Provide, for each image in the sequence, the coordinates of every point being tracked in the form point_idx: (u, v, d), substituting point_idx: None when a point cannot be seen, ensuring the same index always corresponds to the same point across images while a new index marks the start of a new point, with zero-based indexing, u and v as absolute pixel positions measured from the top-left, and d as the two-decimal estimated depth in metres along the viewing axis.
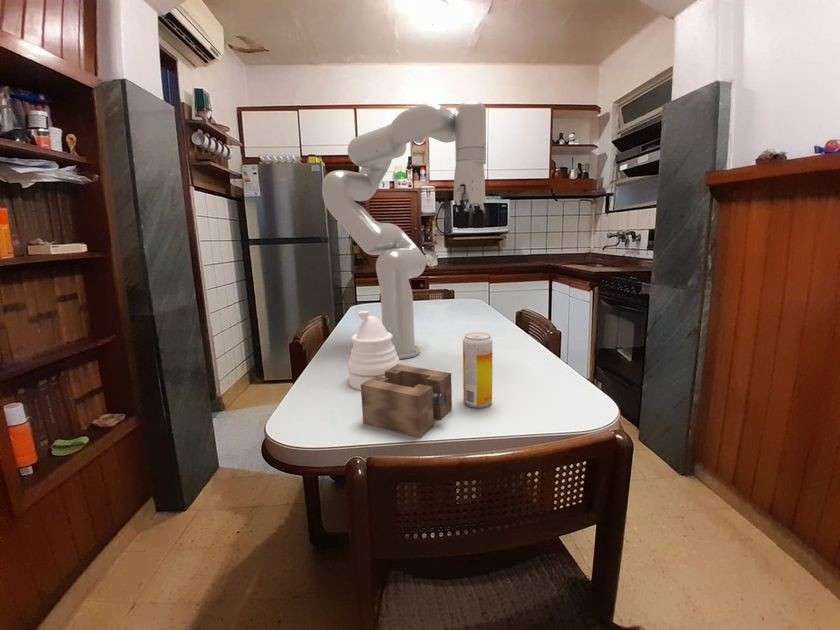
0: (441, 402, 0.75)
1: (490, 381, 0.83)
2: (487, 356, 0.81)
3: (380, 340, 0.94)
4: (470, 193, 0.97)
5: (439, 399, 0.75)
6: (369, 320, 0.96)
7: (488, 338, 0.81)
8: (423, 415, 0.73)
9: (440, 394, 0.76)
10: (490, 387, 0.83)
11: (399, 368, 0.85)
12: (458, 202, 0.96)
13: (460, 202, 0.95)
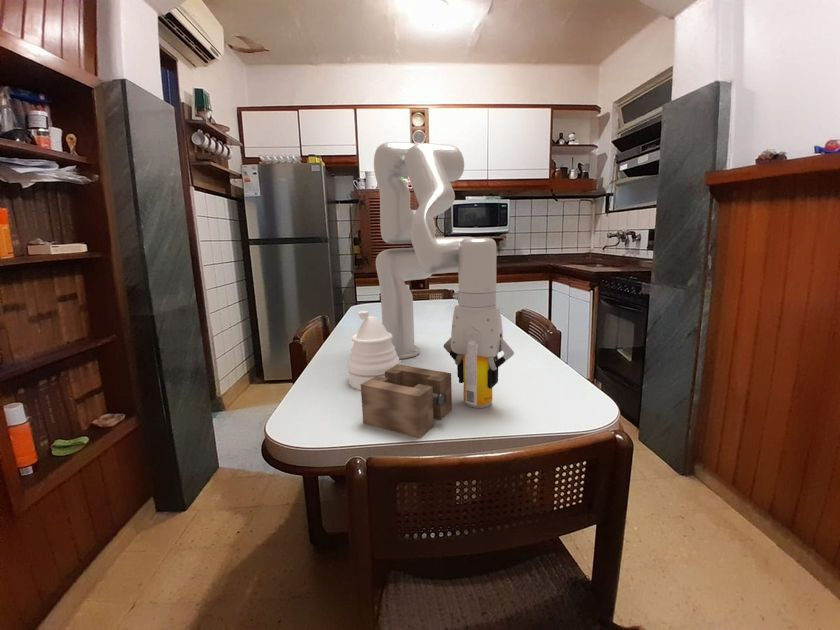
0: (441, 402, 0.75)
1: None
2: None
3: (380, 340, 0.94)
4: None
5: (439, 399, 0.75)
6: (369, 320, 0.96)
7: None
8: (423, 415, 0.73)
9: (440, 394, 0.76)
10: None
11: (399, 368, 0.85)
12: (505, 360, 0.81)
13: None
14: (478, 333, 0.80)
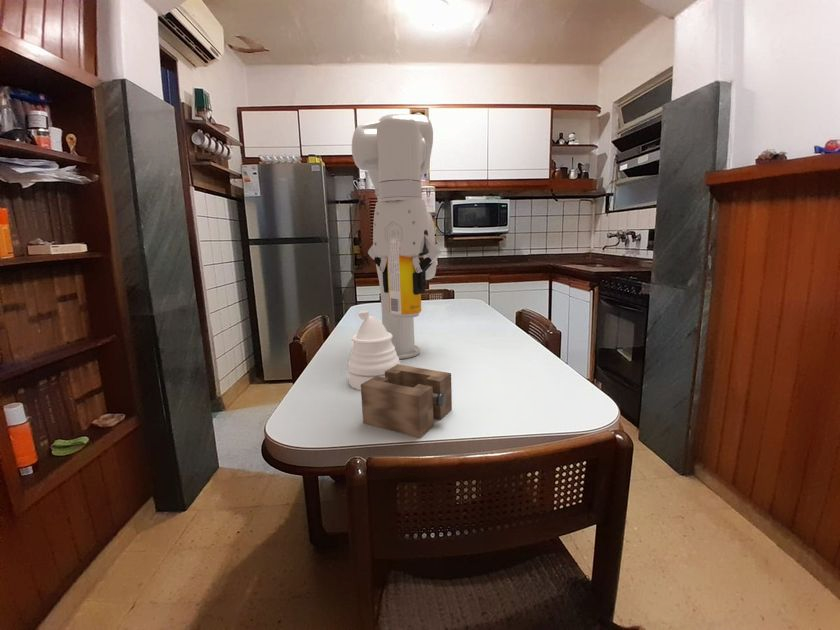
0: (441, 402, 0.75)
1: None
2: None
3: (380, 340, 0.94)
4: None
5: (439, 399, 0.75)
6: (369, 320, 0.96)
7: None
8: (423, 415, 0.73)
9: (440, 394, 0.76)
10: (417, 295, 0.74)
11: (399, 368, 0.85)
12: (432, 261, 0.72)
13: None
14: (400, 228, 0.70)
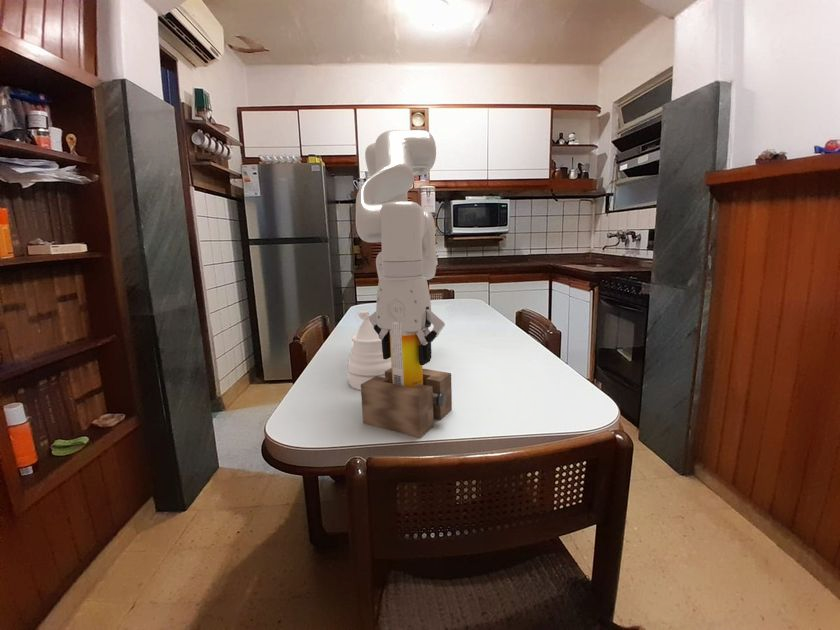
0: (441, 402, 0.75)
1: (419, 364, 0.77)
2: (414, 336, 0.75)
3: (380, 340, 0.94)
4: None
5: (439, 399, 0.75)
6: None
7: None
8: (423, 415, 0.73)
9: (440, 394, 0.75)
10: (419, 371, 0.77)
11: None
12: (437, 334, 0.74)
13: (438, 333, 0.74)
14: (402, 305, 0.73)
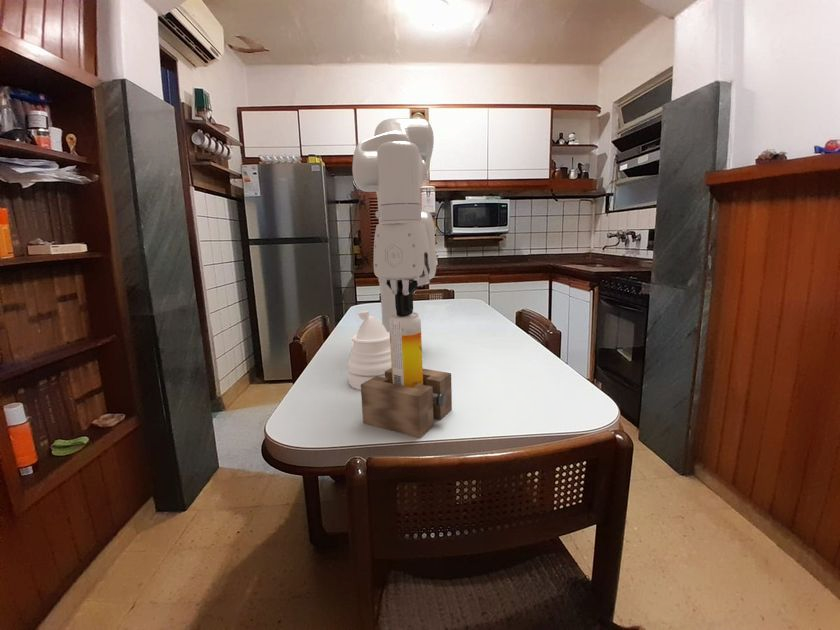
0: (441, 402, 0.75)
1: (419, 364, 0.77)
2: (414, 336, 0.75)
3: (380, 340, 0.94)
4: None
5: (439, 399, 0.75)
6: (369, 320, 0.96)
7: (414, 317, 0.75)
8: (423, 415, 0.73)
9: (440, 394, 0.75)
10: (419, 371, 0.77)
11: None
12: (418, 286, 0.74)
13: None
14: (400, 250, 0.71)
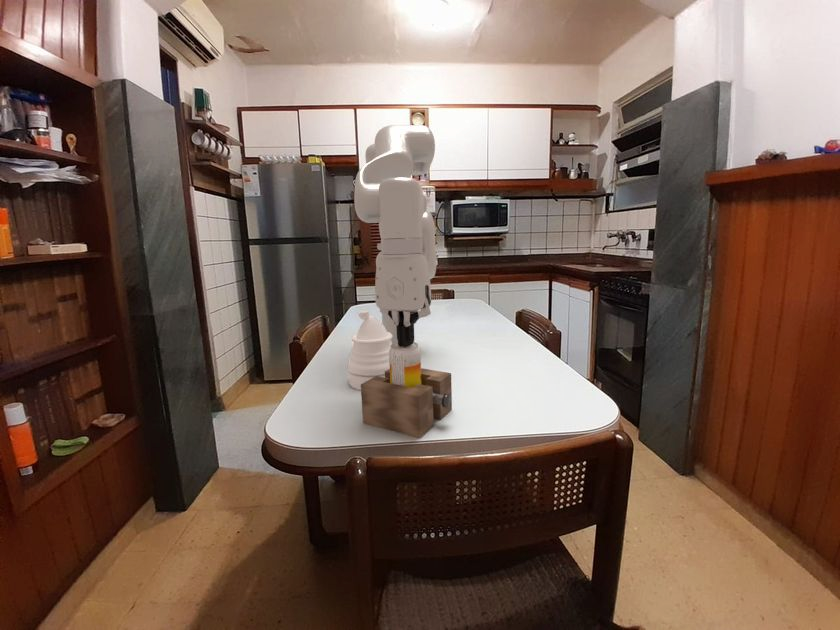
0: (446, 403, 0.75)
1: None
2: (415, 367, 0.76)
3: (380, 340, 0.94)
4: None
5: (445, 400, 0.74)
6: (369, 320, 0.96)
7: (416, 348, 0.76)
8: (423, 415, 0.73)
9: (446, 395, 0.75)
10: None
11: None
12: (419, 317, 0.75)
13: None
14: (401, 283, 0.72)
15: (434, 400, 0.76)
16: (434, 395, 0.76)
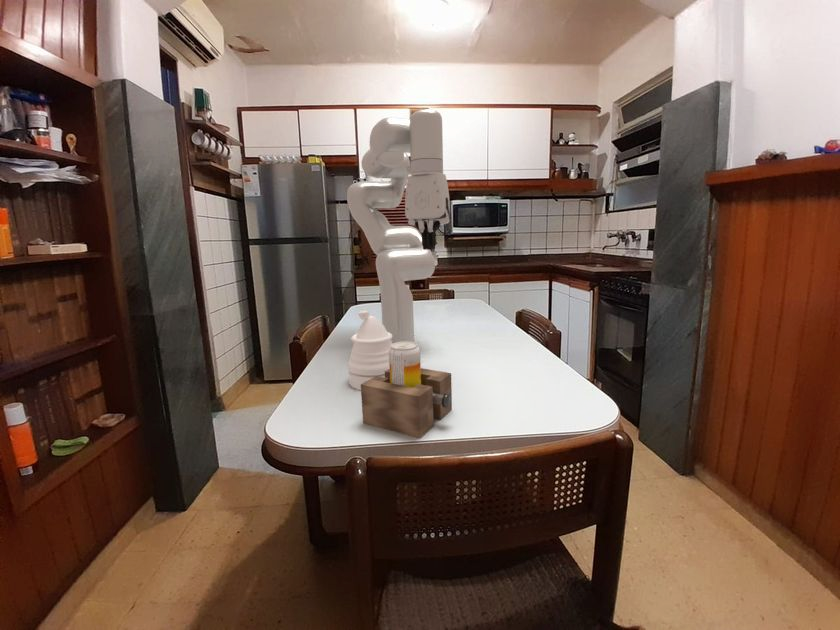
0: (446, 403, 0.75)
1: None
2: (415, 367, 0.76)
3: (380, 340, 0.94)
4: None
5: (445, 400, 0.74)
6: (369, 320, 0.96)
7: (415, 348, 0.76)
8: (423, 415, 0.73)
9: (446, 395, 0.75)
10: None
11: None
12: (440, 225, 0.95)
13: None
14: (427, 195, 0.92)
15: (434, 400, 0.76)
16: (434, 395, 0.76)
